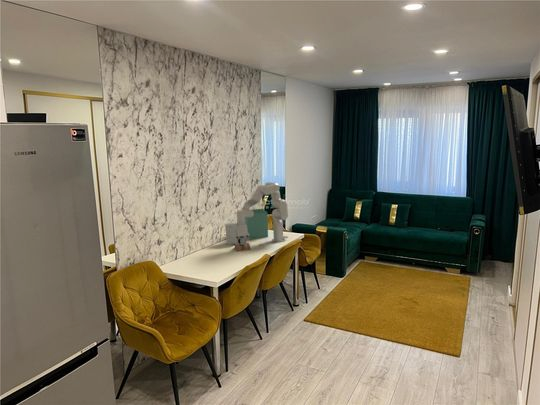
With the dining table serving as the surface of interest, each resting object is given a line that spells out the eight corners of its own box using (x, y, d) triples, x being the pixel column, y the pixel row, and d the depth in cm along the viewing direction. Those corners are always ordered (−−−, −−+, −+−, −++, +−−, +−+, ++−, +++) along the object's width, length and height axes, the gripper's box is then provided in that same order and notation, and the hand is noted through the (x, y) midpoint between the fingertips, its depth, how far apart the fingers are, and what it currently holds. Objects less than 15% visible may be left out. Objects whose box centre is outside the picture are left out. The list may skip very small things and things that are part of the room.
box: (244, 233, 414) (243, 210, 410) (263, 232, 419) (262, 208, 415) (248, 238, 392) (247, 214, 387) (268, 237, 397) (267, 212, 392)
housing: (245, 244, 352) (245, 237, 351) (240, 244, 351) (240, 237, 350) (244, 242, 360) (243, 235, 359) (238, 242, 359) (238, 235, 357)
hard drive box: (243, 242, 379) (242, 222, 376) (242, 244, 372) (241, 224, 368) (227, 242, 381) (227, 222, 378) (226, 244, 373) (225, 224, 370)
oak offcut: (247, 245, 369) (247, 242, 369) (249, 246, 366) (249, 242, 365) (243, 245, 367) (243, 242, 366) (245, 246, 364) (245, 243, 363)
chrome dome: (262, 246, 364) (262, 244, 364) (263, 247, 360) (263, 246, 360) (258, 246, 363) (258, 245, 363) (259, 247, 359) (259, 246, 359)
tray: (247, 246, 363) (247, 242, 363) (250, 249, 352) (249, 245, 351) (234, 247, 360) (234, 243, 360) (237, 251, 349) (237, 247, 348)
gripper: (233, 225, 347) (234, 244, 349) (251, 223, 351) (252, 243, 354) (231, 223, 354) (232, 242, 357) (249, 222, 358) (250, 241, 361)
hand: (242, 242), depth 355 cm, fingers closed on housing, 5 cm apart
